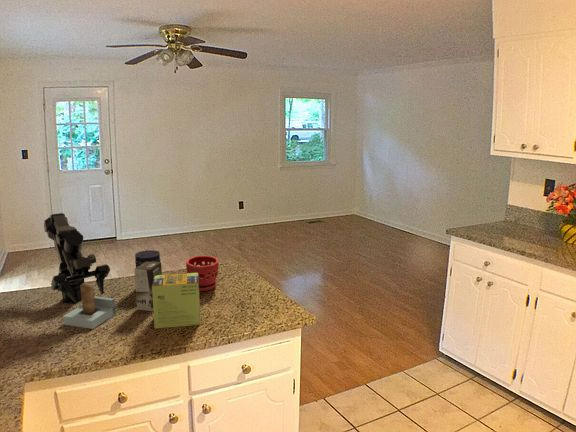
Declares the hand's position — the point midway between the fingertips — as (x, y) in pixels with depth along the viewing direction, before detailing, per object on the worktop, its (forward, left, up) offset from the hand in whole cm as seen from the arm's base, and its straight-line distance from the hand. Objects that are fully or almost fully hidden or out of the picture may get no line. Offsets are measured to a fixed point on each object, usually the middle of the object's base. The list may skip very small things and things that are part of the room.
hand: (89, 297), depth 153 cm
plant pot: (+24, +39, -9) cm, 46 cm away
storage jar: (+3, +32, -9) cm, 33 cm away
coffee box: (+13, +17, -9) cm, 23 cm away
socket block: (-1, +1, -9) cm, 9 cm away
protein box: (+29, +9, -9) cm, 31 cm away
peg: (-1, +1, -9) cm, 9 cm away
